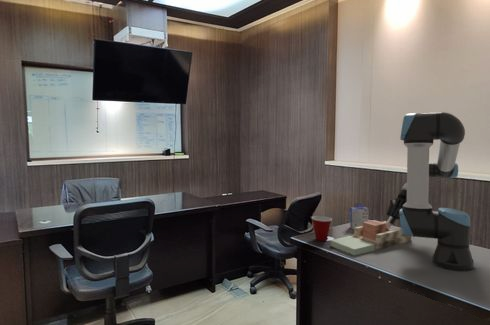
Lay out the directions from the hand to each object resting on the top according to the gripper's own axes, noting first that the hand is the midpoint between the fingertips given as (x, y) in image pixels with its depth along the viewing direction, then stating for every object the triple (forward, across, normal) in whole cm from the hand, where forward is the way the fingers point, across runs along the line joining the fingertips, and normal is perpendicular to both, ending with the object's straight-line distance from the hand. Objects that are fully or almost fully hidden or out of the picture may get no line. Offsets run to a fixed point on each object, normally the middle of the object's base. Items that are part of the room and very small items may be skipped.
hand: (386, 227), depth 180 cm
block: (+9, 0, +4) cm, 9 cm away
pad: (+22, 0, +13) cm, 25 cm away
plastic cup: (+24, +18, +15) cm, 34 cm away
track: (+8, 0, -2) cm, 8 cm away
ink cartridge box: (+1, +23, -8) cm, 25 cm away
